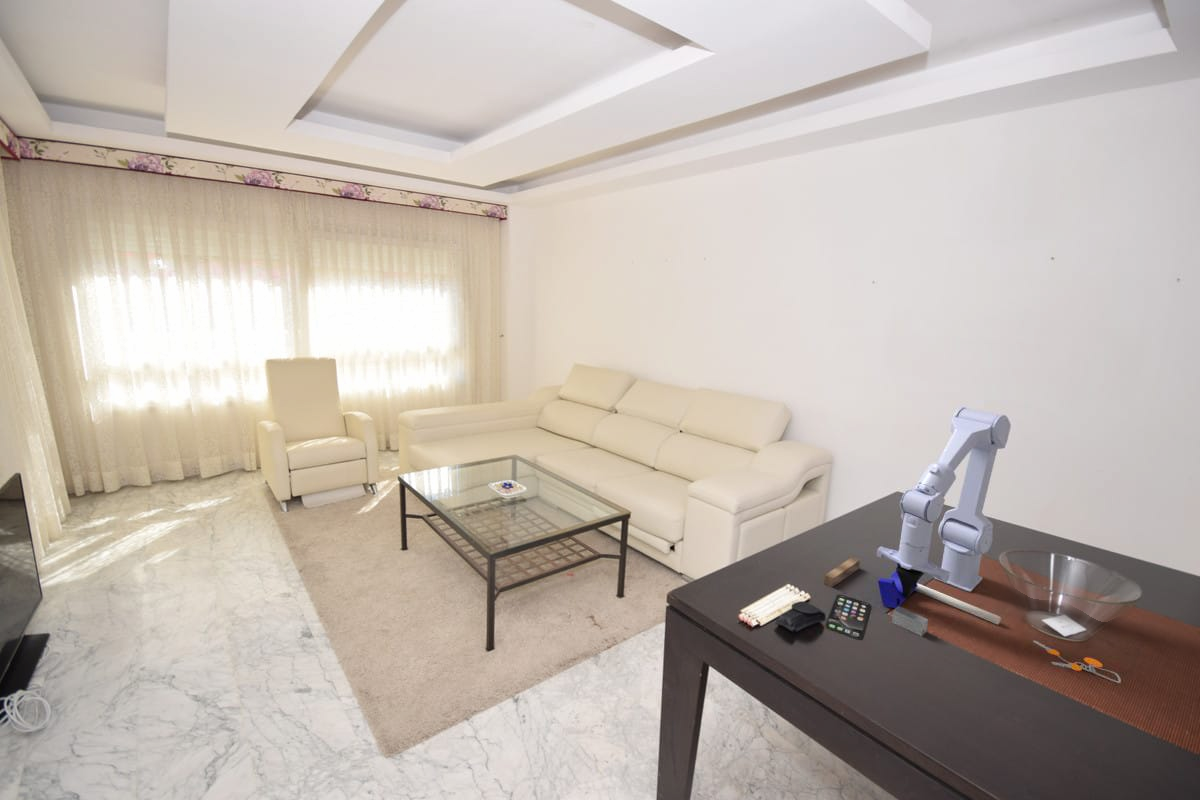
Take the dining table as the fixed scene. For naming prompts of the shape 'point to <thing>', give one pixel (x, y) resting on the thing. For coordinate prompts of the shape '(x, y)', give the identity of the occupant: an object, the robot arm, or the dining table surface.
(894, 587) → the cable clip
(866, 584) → the dining table surface
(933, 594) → the white rod
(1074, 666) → the key chain
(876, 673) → the dining table surface
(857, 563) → the bar
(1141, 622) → the dining table surface
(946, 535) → the robot arm
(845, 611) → the smartphone
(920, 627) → the grey rectangular block
